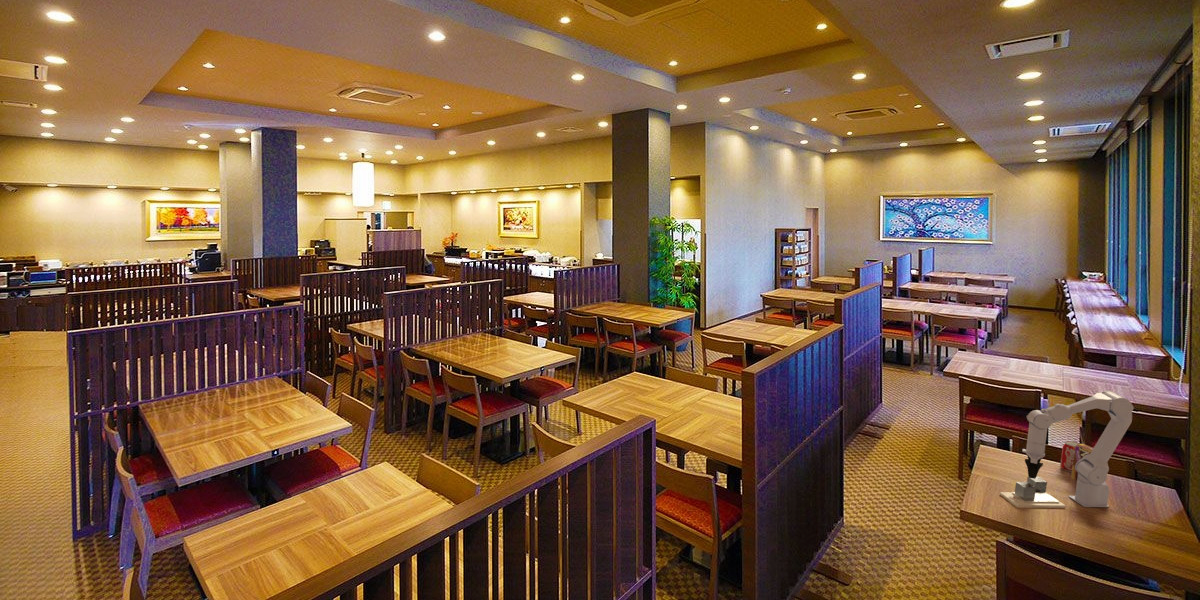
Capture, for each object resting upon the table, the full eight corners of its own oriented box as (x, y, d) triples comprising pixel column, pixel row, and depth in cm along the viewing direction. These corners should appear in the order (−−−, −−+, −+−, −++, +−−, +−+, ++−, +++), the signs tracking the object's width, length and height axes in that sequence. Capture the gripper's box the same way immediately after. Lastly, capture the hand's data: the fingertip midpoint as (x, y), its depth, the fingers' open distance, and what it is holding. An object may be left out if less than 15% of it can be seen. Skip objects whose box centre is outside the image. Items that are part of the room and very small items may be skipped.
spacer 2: (1037, 488, 239) (1038, 476, 238) (1045, 493, 234) (1047, 482, 234) (1026, 488, 239) (1027, 476, 238) (1034, 493, 235) (1035, 481, 234)
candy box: (1100, 487, 239) (1105, 452, 237) (1091, 488, 238) (1097, 453, 236) (1078, 477, 248) (1083, 443, 245) (1070, 478, 247) (1075, 444, 244)
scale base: (1045, 495, 233) (1046, 491, 233) (1065, 507, 223) (1065, 504, 223) (999, 494, 234) (1000, 491, 233) (1017, 507, 224) (1017, 504, 223)
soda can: (1084, 474, 251) (1088, 447, 249) (1065, 472, 252) (1069, 446, 250) (1074, 467, 258) (1078, 441, 256) (1056, 465, 259) (1059, 439, 257)
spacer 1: (1014, 493, 231) (1016, 481, 230) (1025, 493, 231) (1027, 481, 230) (1022, 499, 226) (1024, 487, 226) (1034, 499, 227) (1035, 487, 226)
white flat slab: (1045, 493, 232) (1045, 492, 232) (1059, 503, 225) (1059, 501, 225) (1012, 493, 232) (1012, 492, 232) (1024, 502, 225) (1024, 501, 225)
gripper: (1024, 433, 236) (1021, 465, 239) (1022, 445, 225) (1018, 478, 227) (1046, 437, 232) (1042, 469, 234) (1045, 449, 221) (1041, 483, 223)
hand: (1032, 474), depth 231 cm, fingers open, 7 cm apart
